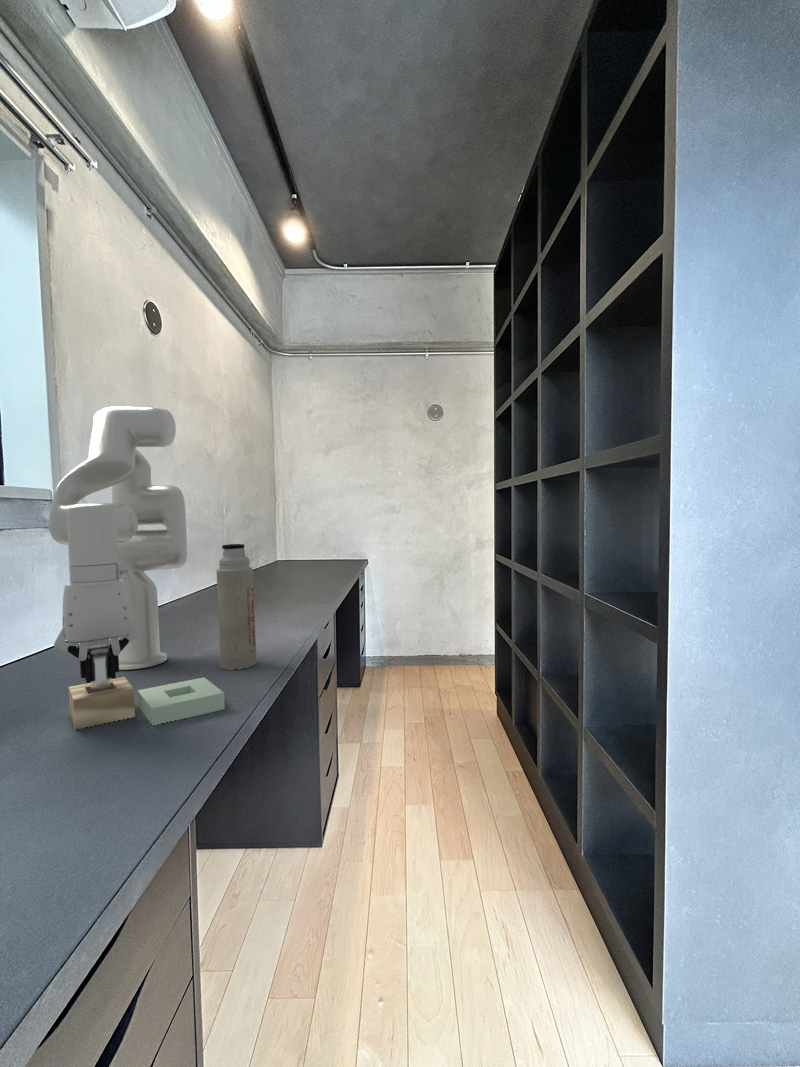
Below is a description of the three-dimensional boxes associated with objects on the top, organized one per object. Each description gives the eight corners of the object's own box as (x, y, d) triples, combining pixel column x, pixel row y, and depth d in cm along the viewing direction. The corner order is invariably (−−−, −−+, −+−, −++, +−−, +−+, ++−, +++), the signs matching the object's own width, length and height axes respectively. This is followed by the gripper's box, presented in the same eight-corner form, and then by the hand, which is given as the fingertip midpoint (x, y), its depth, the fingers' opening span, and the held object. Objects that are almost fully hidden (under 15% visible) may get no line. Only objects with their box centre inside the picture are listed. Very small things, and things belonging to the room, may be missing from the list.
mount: (70, 714, 98) (68, 686, 97) (125, 703, 103) (124, 676, 103) (75, 730, 90) (73, 700, 90) (135, 717, 96) (133, 688, 95)
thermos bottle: (262, 660, 130) (257, 542, 129) (246, 670, 122) (241, 545, 121) (231, 659, 132) (226, 543, 131) (213, 669, 124) (208, 545, 123)
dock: (138, 706, 101) (137, 690, 101) (204, 692, 108) (204, 677, 108) (152, 726, 91) (151, 708, 91) (224, 709, 98) (223, 692, 98)
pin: (88, 715, 97) (84, 646, 97) (112, 710, 99) (109, 643, 99) (91, 721, 94) (87, 651, 93) (116, 716, 96) (112, 647, 96)
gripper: (141, 569, 103) (146, 665, 104) (37, 577, 94) (43, 683, 95) (150, 572, 97) (155, 674, 98) (39, 581, 88) (46, 694, 88)
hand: (100, 678), depth 96 cm, fingers closed on pin, 3 cm apart
